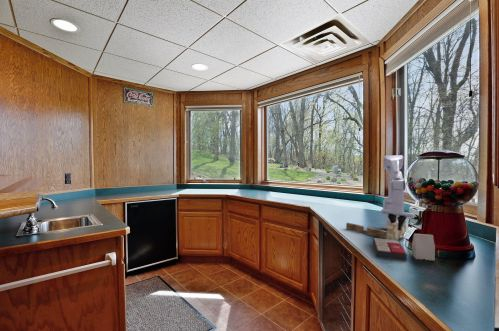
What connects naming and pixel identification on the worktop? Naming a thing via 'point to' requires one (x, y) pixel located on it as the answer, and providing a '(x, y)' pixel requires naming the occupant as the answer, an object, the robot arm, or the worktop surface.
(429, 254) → the tea bag
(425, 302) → the worktop surface
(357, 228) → the walnut stand
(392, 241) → the calculator
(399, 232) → the cross piece
